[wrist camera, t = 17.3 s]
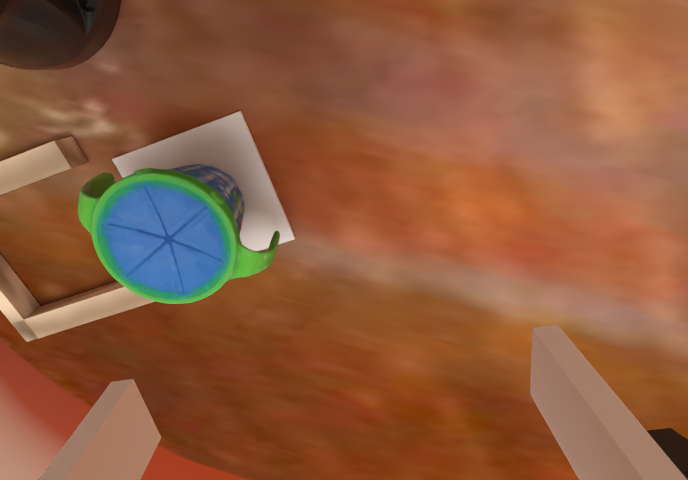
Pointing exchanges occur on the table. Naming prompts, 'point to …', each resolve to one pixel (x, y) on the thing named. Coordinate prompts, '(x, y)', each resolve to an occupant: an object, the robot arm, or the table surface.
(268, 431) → the table surface
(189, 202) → the snack cup
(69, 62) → the robot arm
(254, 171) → the grey mat
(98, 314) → the wooden frame
